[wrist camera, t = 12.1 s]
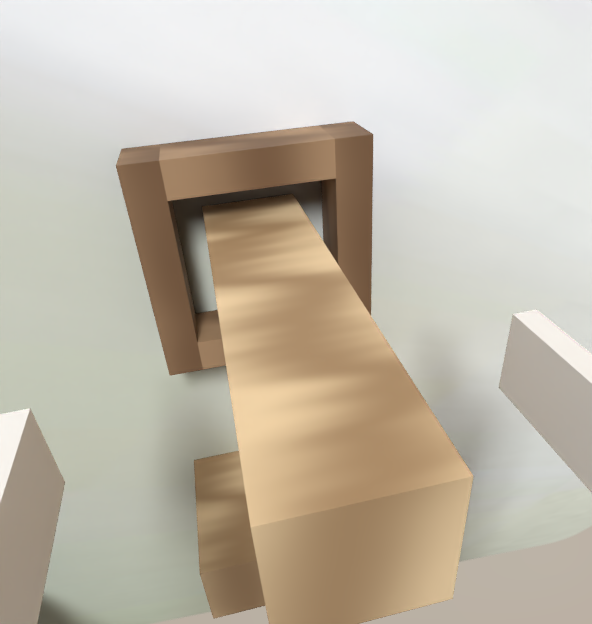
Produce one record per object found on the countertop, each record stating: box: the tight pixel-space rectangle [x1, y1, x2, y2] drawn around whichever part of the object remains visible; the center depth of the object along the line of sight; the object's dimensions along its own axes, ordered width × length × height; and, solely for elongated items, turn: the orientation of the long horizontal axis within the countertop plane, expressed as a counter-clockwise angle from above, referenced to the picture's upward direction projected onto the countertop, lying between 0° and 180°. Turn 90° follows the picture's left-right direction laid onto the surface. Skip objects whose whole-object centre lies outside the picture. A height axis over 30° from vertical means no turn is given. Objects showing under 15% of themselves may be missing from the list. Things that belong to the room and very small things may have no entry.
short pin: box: [194, 451, 265, 618], centre depth 28 cm, size 4×4×7 cm
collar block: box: [116, 122, 373, 375], centre depth 22 cm, size 10×10×2 cm
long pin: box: [202, 194, 473, 624], centre depth 16 cm, size 4×4×16 cm
